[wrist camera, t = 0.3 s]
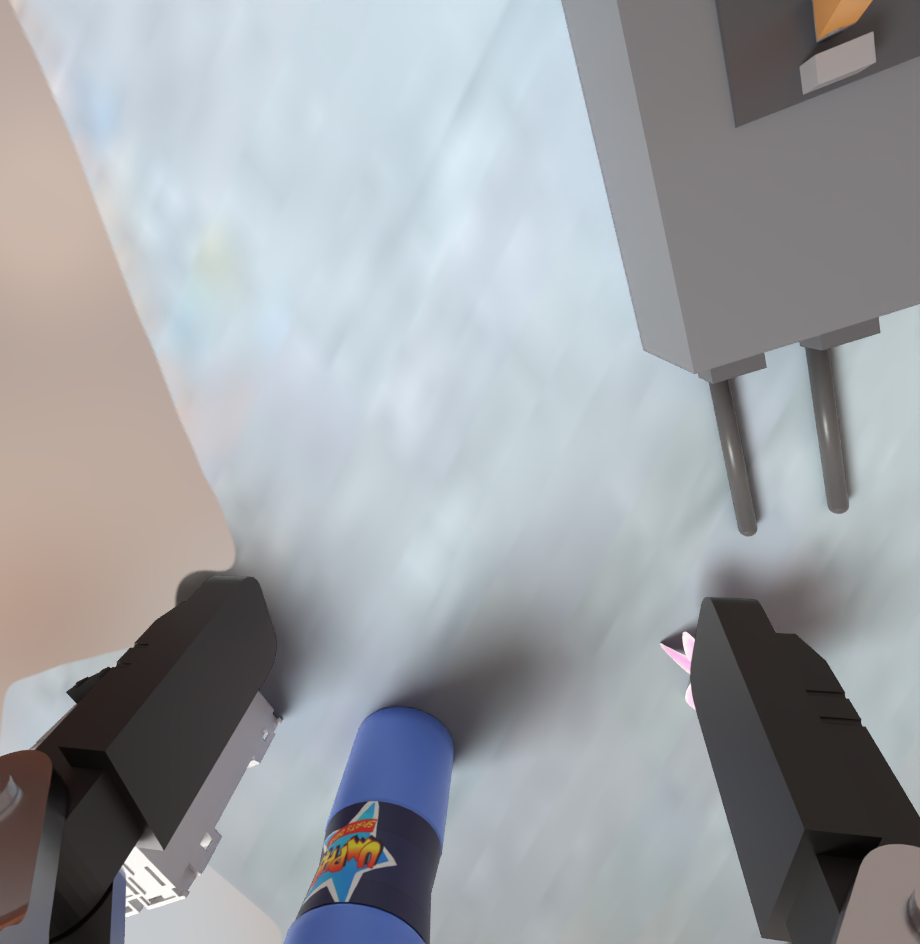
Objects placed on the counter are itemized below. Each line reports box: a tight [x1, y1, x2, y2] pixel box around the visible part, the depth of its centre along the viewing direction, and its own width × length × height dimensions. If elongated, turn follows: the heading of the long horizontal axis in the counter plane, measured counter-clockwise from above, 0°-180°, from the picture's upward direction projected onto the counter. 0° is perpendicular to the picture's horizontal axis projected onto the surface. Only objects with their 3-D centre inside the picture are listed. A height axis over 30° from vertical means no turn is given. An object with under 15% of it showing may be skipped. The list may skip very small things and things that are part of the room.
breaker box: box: [561, 0, 920, 536], centre depth 26 cm, size 39×14×11 cm, turn 19°
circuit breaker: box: [29, 667, 282, 917], centre depth 40 cm, size 8×14×15 cm, turn 29°
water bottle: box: [284, 707, 454, 944], centre depth 36 cm, size 9×9×25 cm
